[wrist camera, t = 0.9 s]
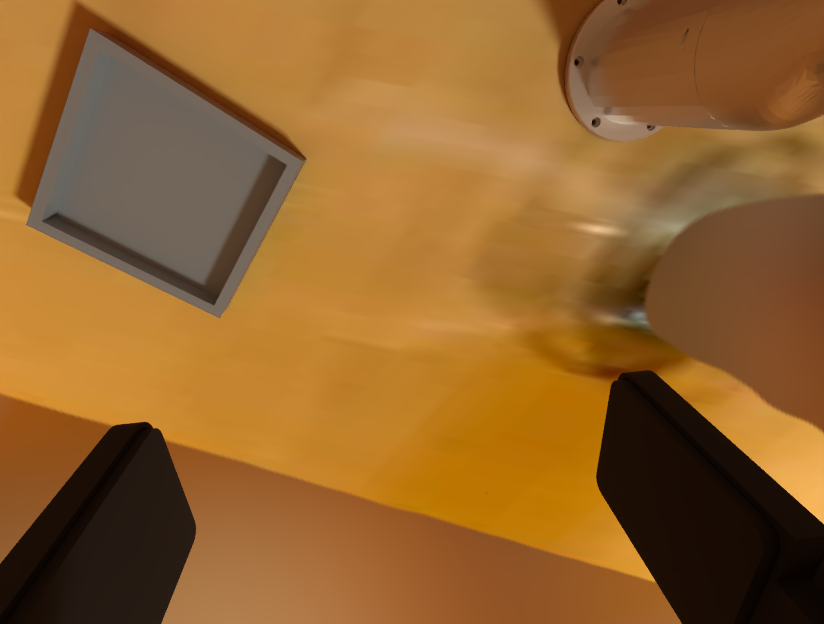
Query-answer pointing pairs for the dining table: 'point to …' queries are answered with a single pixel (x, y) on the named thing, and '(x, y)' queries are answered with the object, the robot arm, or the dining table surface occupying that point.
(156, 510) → the robot arm
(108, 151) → the tray
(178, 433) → the dining table surface
